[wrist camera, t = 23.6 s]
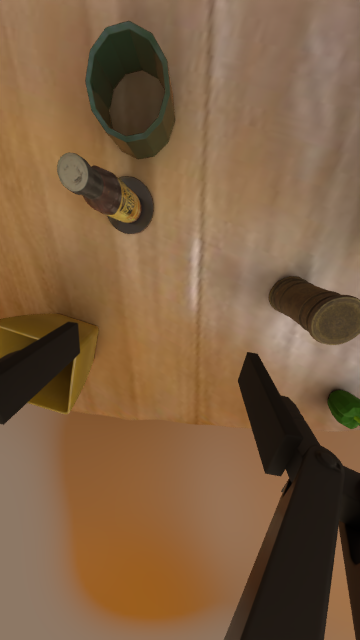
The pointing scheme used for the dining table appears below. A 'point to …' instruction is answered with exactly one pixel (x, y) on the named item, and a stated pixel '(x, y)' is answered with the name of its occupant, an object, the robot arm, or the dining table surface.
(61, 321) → the flower pot
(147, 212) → the coaster
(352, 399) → the bell pepper
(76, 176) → the sauce bottle
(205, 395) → the dining table surface
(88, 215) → the dining table surface
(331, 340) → the container
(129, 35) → the crock
